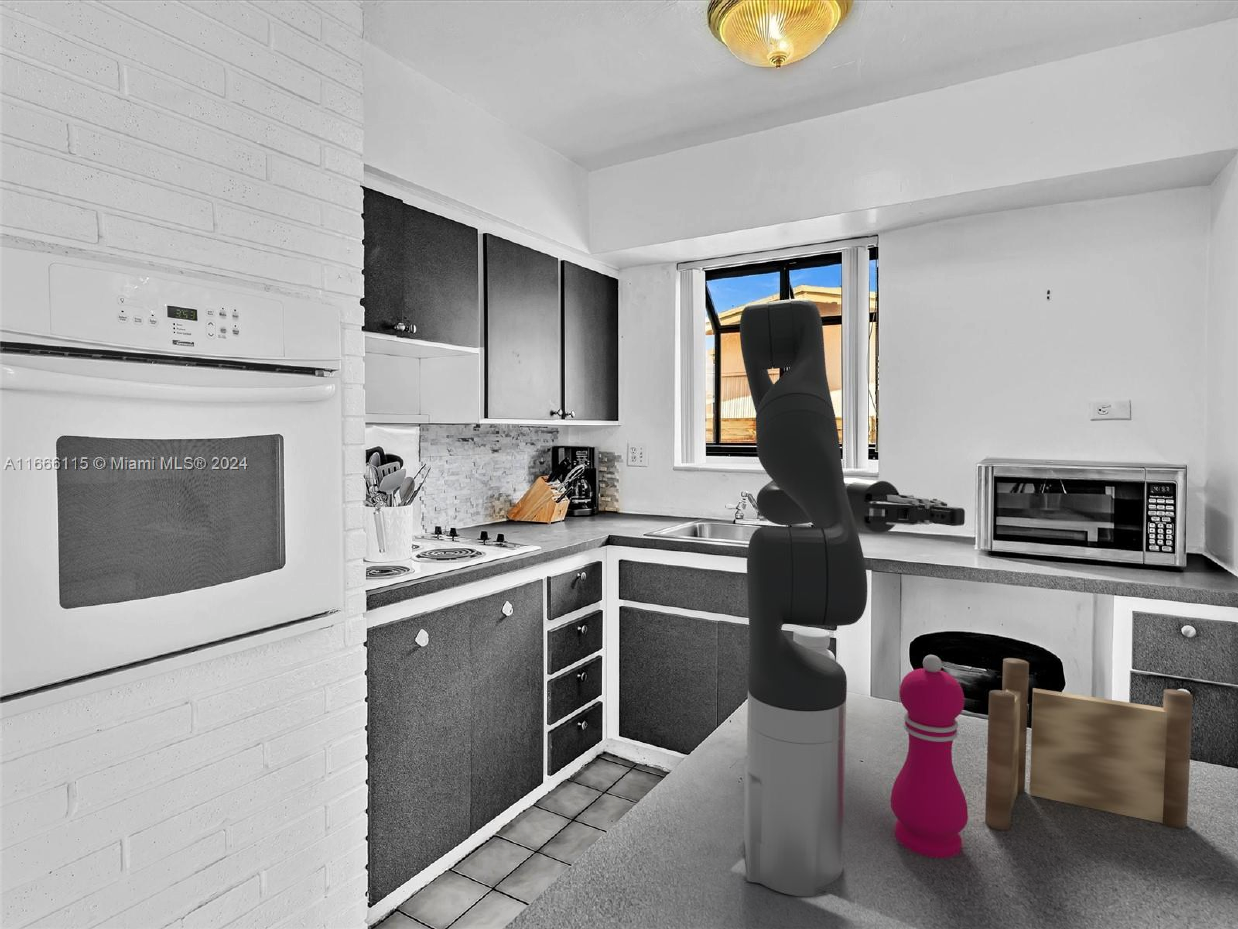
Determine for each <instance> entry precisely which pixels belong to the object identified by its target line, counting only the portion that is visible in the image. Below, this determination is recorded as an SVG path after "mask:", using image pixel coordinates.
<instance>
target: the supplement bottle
mask: <svg viewBox="0 0 1238 929" xmlns="http://www.w3.org/2000/svg"><path fill="white" fill-rule="evenodd" d="M792 640H793V641H795V642H796V643H798V644H799V645H801V646H803V647H805V648H808V649H810V650H812V651H815V652H818V653H820V654H822V655H825V656H827V657H829V658H831V659H833V660H834V661H836V657H835V655H834V653H833V652H832V651H831V650H829V649H828V648H829V647H830V644H831V634H830V632H829V631H828V630H826V629H822V628H818V627H808V626H804V627H797V628H795V629H793V636H792Z"/></svg>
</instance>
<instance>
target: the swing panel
mask: <svg viewBox="0 0 1238 929" xmlns="http://www.w3.org/2000/svg"><path fill="white" fill-rule="evenodd" d="M1193 696H1194V695H1193V694H1192V693H1189V692H1186V691H1184V690H1179V689H1171V688H1169V689H1167V688H1166V689H1163V701H1162V703H1163V704H1162V707H1161V706H1154V705H1148V704H1141V703H1136V702H1135V703H1134V702H1127V701H1121V700H1115V699H1109V698H1102V697H1101V698H1100V697H1096V696H1095V697H1094V696H1088V695H1082V694H1074V693H1069V692H1063V691H1062V692H1061V691H1056V690H1047V689H1042V688H1035V687H1033V688H1032V702H1031V705H1032V706H1031V730H1030V731H1031V733H1030V734H1031V736H1030V763H1029V764H1030V765H1029V795H1030V796H1032V797H1038V798H1042V799H1047V800H1050V801H1051V800H1052V801H1055V802H1056V801H1057V802H1061V803H1066V804H1070V805H1075V806H1080V807H1084V808H1088V809H1089V808H1090V809H1093V810H1099V811H1102V812H1103V811H1104V812H1107V813H1108V812H1109V813H1113V814H1118V815H1123V816H1126V817H1131V818H1137V819H1141V820H1146V821H1150V822H1154V823H1159V824H1163V825H1165V826H1167V827H1170V828H1173V829H1181V830H1183V829H1187V828H1188V811H1189V790H1190V767H1191V766H1190V765H1191V764H1190V763H1191V745H1192V743H1191V742H1192V724H1193V722H1192V721H1193V717H1192V716H1193V698H1194V697H1193Z"/></svg>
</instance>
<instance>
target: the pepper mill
mask: <svg viewBox="0 0 1238 929" xmlns="http://www.w3.org/2000/svg"><path fill="white" fill-rule="evenodd" d="M922 666H923V668H915V669H914V670H912V671H910V672H908V673H907V674H906V675H905V676H904V677H903V678H902V680H901V683H900V686H899V692H898V693H899V699H900V702H901V704H902V706H903V708H904V709H905V710H906V713H904V715H903V719H904V724H903V728H904V730H905V731H906V732H907V734H908V752H907V755H906V758H905V761H904V764H903V766H902V768H901V769H900V771H899V773H898V775H897V776H896V778H895V780H894V783H893V785H892V789H891V793H890V807H891V810H892V813H893V814H894V817H895V818H896V819H897V821H896V822H895V825H894V835H895V836H894V837H895V838H896V840H897V841H898V842H899V843H900V844H901V846H903V847H905V848H906V849H908V850H909V851H912V852H914V853H917V854H919V855H922V856H926V857H930V858H937V859H938V858H943V859H944V858H953V857H955V856H957V855H958V854H959V853H960V852H961V851H962V845H963V843H962V841H963V840H962V836H961V835H960V832H961V831H962V830H963V829H964V828H966V826H967V823H968V820H969V815H968V814H969V812H968V805H967V804H968V803H967V801H966V797H965V794H964V790H963V788H962V786H961V784H960V781H959V780H958V778H957V774H956V772H955V768H954V765H953V759H952V758H953V754H952V753H953V751H952V750H953V742H954V740H956V739H957V738H958V736H959V733H958V728H959V722H958V721H957V717H959V716H960V715H961V713H962V712H963V710H964V707H965V694H964V691H963V690H964V689H963V688H962V686H961V685H960V682H959V681H958V680H957V679H956V678H955V677H954V676H952V675H951V674H949V673H948V672H945V671H944V670H941V669H942V667H943V662H942V660H941V658H939V657H938V656H937V655H934V654H928V655H926V656H925V657H924V658H923V660H922Z"/></svg>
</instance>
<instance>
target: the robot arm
mask: <svg viewBox="0 0 1238 929" xmlns="http://www.w3.org/2000/svg"><path fill="white" fill-rule="evenodd" d="M824 337H825V336H824V329H823V320H822V316H821V313H820V310H819V308H818V305H816V303H815V302H814V301H812V300H811V299H808V298H792V299H784V300H783V299H782V300H776V301H775V300H774V301H768V302H767V301H766V302H758V303H752V304H749V305H747V306H745V307H744V308H743V309H742V311H741V314H740V320H739V340H740V349H741V355H742V360H743V364H744V369H745V373H746V378H747V382H748V387H749V391H750V396H751V400H752V404H753V407H754V410H755V414H756V415H755V437H756V438H755V441H756V454H757V457H758V460H759V463H760V464H761V467H762V468H763V469H764V471H765V472H766V474H767V475H768V476H769V478H771V481H769V482H768V483H766V484H765V485H764V486H762V488H761V489H760V490H759V492H758V493H757V496H756V507H757V510H758V512H759V513H760V515H761V516H762V517H763V518H764V519H766V520H767V521H768V522H770V523H771V524H775V525H780V526H761V527H758V528H756V529H755V530H754V532H753V533H752V534H751V537H750V539H749V542H748V546H747V556H746V584H747V585H746V586H747V588H746V589H747V607H748V608H747V611H748V632H749V633H748V642H749V644H748V671H747V672H748V673H747V676H748V677H747V715H746V716H747V720H746V721H747V722H746V724H747V728H746V732H747V734H746V755H745V757H744V794H743V795H744V799H743V801H744V802H743V813H744V814H743V842H744V843H743V845H744V853H745V858H744V862H745V872H746V873H745V874H746V880H747V881H748V882H750V883H758V884H760V885H763V886H765V887H767V888H769V889H771V890H772V891H776V892H779V893H781V894H786V895H791V896H796V897H797V896H798V897H815V896H820V895H824V894H827V893H828V891H826V890H824V889H821V888H822V887H826V886H828V885H830V884H833V883H834V882H835V881H836V880H838V879H839V878H840V876H841V875H842V873H843V870H844V858H845V857H844V856H845V855H844V840H845V839H844V837H845V833H844V832H845V830H844V829H845V790H846V788H845V786H846V785H845V783H846V776H845V775H846V735H847V734H846V732H847V731H846V727H847V695H848V692H847V689H848V688H847V686H848V681H847V680H848V678H847V674H846V671H845V670H844V667H843V666H842V665H841V664H840V663H839V662H837V660H835V661H834V660H833V659H831V658H829V657H827V656H825V655H822V654H820V653H818V652H815V651H812V650H810V649H808V648H805V647H803V646H801V645H799V644H798V643H796V642H795V641H793V638H792V639H791V637H789V636H788V635H786V633H784V631H783V630H782V628H783V625H797V626H798V625H799V626H801V625H803V626H822V627H842V626H850V625H853V624H855V623H858V621H859V620H860V619H861V618H862V616H863V615H864V613H865V610H866V607H867V601H868V576H867V574H868V573H867V569H866V562H865V557H864V556H865V555H864V553H863V548H862V544H861V540H860V536H859V532H858V531H861V532H865V533H871V534H878V535H880V534H881V535H882V534H885V533H888V532H890V531H891V530H892V529H893V528H894V527H895V526H896V525H902V526H903V525H904V526H916V525H927V526H928V525H931V524H935V525H943V526H950V527H957V526H959V527H960V526H963V525H964V524H965V521H966V520H965V518H966V517H965V516H966V511H965V509H964V508H963V507H956V506H948V502H944V501H943V500H940V499H937V498H933V499H929V498H924V497H915V495H913V494H900V493H899V491H898V489H897V488H896V486H894V484H892V483H890V482H888V481H886V480H881V479H879V480H878V479H864V478H854V477H853V478H852V477H844V471H843V462H842V453H841V452H842V451H841V445H840V436H839V429H838V426H837V425H838V424H837V419H836V413H835V409H834V404H833V401H832V396H831V391H830V386H829V381H828V375H827V368H826V366H827V365H826V355H825V354H826V353H825V352H826V351H825V342H824ZM786 368H788V369H787V370H785V372H784V373H783V374H782V375H781V376H780V377H779V378H778V379H777V380H776V381H775V382H773V381H772V379H771V377H770V374H769V372H768V370H778V369H786ZM804 524H812V526H813V527H812V526H811V527H807V526H797V525H804ZM795 525H796V526H795Z"/></svg>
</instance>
